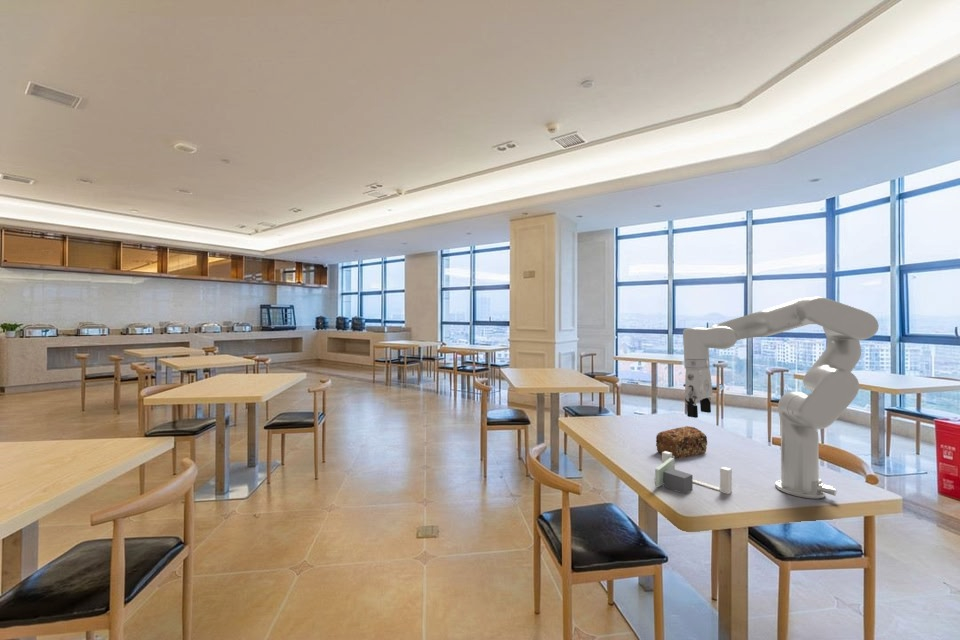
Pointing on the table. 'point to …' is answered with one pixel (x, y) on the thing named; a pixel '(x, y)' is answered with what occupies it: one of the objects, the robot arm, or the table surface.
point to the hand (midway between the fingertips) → (699, 414)
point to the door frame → (724, 484)
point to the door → (663, 467)
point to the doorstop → (678, 480)
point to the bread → (682, 442)
